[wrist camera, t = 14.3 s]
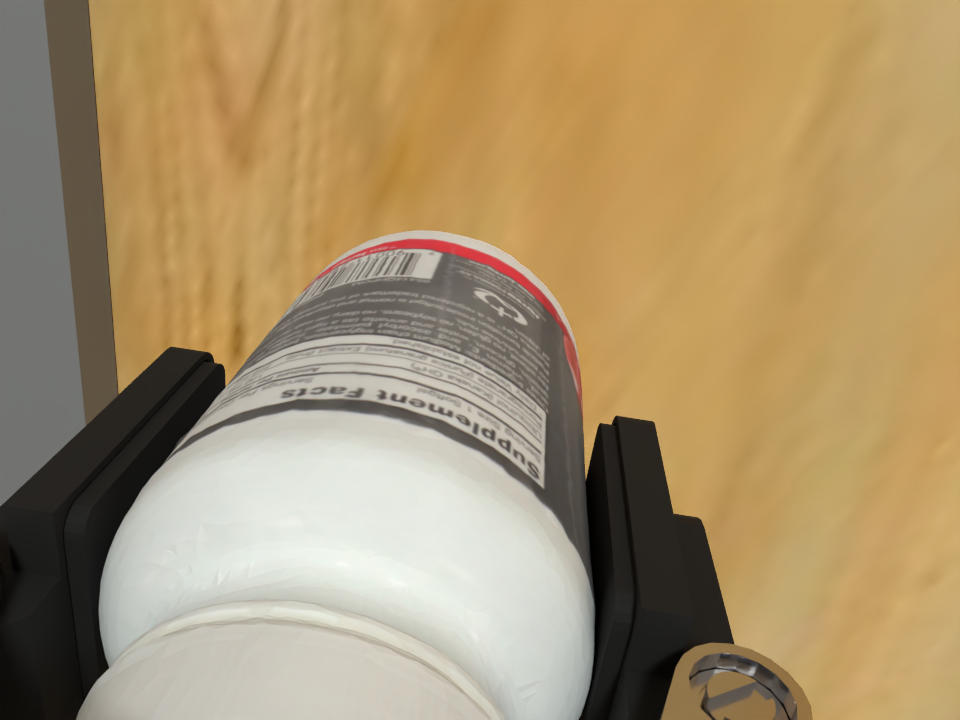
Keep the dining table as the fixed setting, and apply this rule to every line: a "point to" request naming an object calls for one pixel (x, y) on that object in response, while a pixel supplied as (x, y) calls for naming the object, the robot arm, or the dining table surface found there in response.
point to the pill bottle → (370, 512)
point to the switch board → (50, 238)
